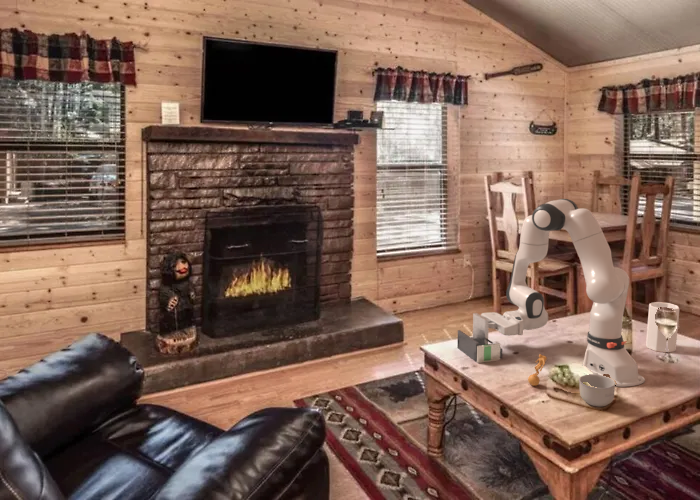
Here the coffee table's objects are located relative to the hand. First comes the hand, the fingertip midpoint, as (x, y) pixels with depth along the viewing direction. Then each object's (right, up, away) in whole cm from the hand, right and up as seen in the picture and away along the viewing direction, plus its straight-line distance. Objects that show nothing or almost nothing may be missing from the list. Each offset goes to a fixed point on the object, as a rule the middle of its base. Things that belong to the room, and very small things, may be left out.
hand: (482, 325), depth 217 cm
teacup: (+28, -20, -41) cm, 54 cm away
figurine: (+12, -18, -29) cm, 36 cm away
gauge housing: (-1, -12, +2) cm, 12 cm away
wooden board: (0, -10, 0) cm, 10 cm away
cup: (+76, -10, +2) cm, 77 cm away
